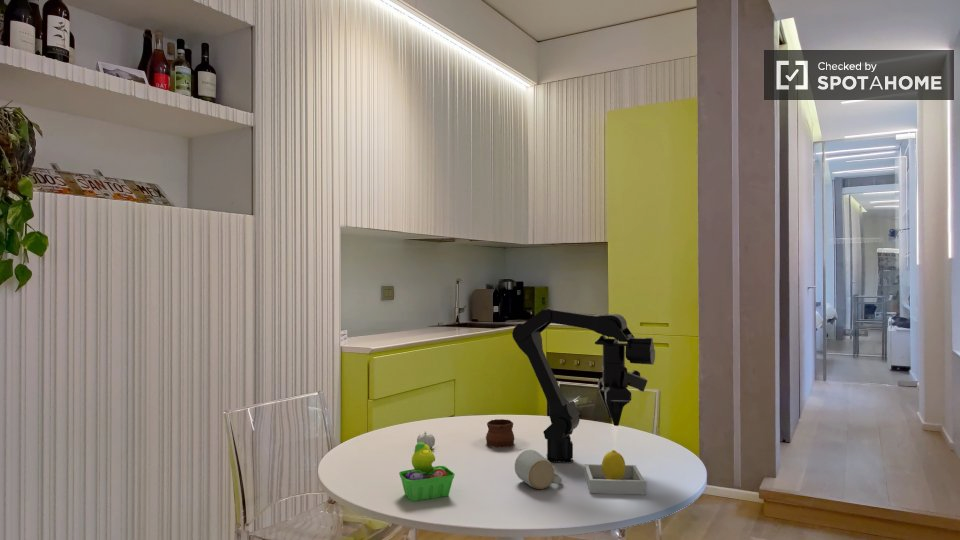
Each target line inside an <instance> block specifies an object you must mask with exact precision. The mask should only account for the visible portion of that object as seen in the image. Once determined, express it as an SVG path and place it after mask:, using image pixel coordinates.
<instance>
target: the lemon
mask: <svg viewBox="0 0 960 540" xmlns="http://www.w3.org/2000/svg"><path fill="white" fill-rule="evenodd" d="M601 464H602V471H603V474H604V476H605V477H604V478H605V479H610V480H623V479H624V478H623V476H624V474H625V465H626V462H625V458H624V457H623V455H622V454H621V453H619V452H618V451H616V449H612V450H611V451H608V452H606V454H605V455H604V456H603V458H602V462H601Z"/></svg>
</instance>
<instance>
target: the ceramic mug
mask: <svg viewBox="0 0 960 540" xmlns="http://www.w3.org/2000/svg"><path fill="white" fill-rule="evenodd" d="M514 472H515V474H516V476H517V477H518V478H519V480H521V481H522V482H524V483H525V484H527V485H528V486H530V487H532V488H533V489H536V490H543V489H547V488H548V487H549V486H550V485H552V483H553V484H557V485H561V483H562V480H563V477H562V476H560V475H559V474H557V473H556V472H555V467H554V465H553V464H552V462H549V461H548V460H547V457H546V458H545V457H544V456H543V455H542V454H541V453H539V452H538V451H536V450H534V449H527V450H525V449H524V451H521V453H519V454H518V456H517V457H516V459H515V462H514Z"/></svg>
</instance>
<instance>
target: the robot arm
mask: <svg viewBox="0 0 960 540" xmlns="http://www.w3.org/2000/svg"><path fill="white" fill-rule="evenodd" d="M550 324H555V325H562V326H570V327H575V328H580V329H581V328H582V329H588V330H590V331H593V332H595V333H597V334H599V335H600V336H599V338H598V339H597V340H596V341H595V342H594V345H598V346H599V345H601V346H602V364H601V369H602V377H601V378H600V379H599V380H597V389H598V392H599V394H600V398H601V399H602V402H603V405H604V407H605V410H606V413H607V415H608V418H609V419H611V421H612V424H613V425H614V426H615V427H618V426H619V425H620V421H621V418H622V415H623V414H622V413H623V410H624V407H625V406H626V405H628V404H630V402H631V401H632V392H631V391H630V390H629V389H628V387H632V388H634V389H637V390H638V391H640V392H644V391H645V389H646V387H647V383H648V381H649V380H648V379H647V378H646V377H644V376H641V372H640V371H638V370H636V369H633V370H632V371H628V368H627V367H626V360H627V361H629V363H630V364H637V365H654V364H655V360H656V359H655V358H656V349H655V345H654V340H653V337H635V335H634V334H633V333H632V331H631V330H630V328H629V327H628V323H627V320H626V318H625V317H624V316H623V315H621V314H618V313H613V314H612V313H611V314H608V313H607V314H589V313H583V312H576V311H571V310H570V311H569V310H562V309H556V308H553V307H544V308H542V309H541V310H540V311H539V312H538V313H537V314H535V315H534V316H532V317H531V318H528V319H527V320H526V321H525V322H524V323H518V324H516V325H515V327H514V328H513V330H512V332H511V337H512V339H513V340H514V342H515V344H516V346H517V347H518V348H519V349H520V351H522V352H523V354H524V355H526V357H527V358H528V360H529V361H528V362H529V363H530V365H531V367H532V369H533V371H534V372H533V373H534V374H535V376H536V379H537V381H538V383H539V385H540V388H541V390H542V391H543V394H544V397H545V399H546V401H547V403H548V413H549V414H548V415H549V420H550V422H551V424H549V425H548V427H546V429H544V430H543V436H544V439H545V440H546V459H547V460H548V461H549V462H550V463H572V460H573V458H574V456H573V455H574V453H573V451H574V448H573V447H574V443H573V441H572V440H571V435H573V432H574V430H575V429H576V428H578V426H579V425H580V421H581V420H580V414H581V413H580V412H579V411H578V409H577V406H576V403H575V401H574V400H571V401H568V400H567V399H566V398H565V396H564V394H563V392H562V390H561V388H560V385H559V384H558V381H557V379H556V377H555V375H554V372H553V370H552V368H551V365H550V363H549V361H548V359H547V357H546V354H545V353H544V349H543V337H542V335H541V333H542V332H543V331H545V330H546V329H547V328H548V326H550Z"/></svg>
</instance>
